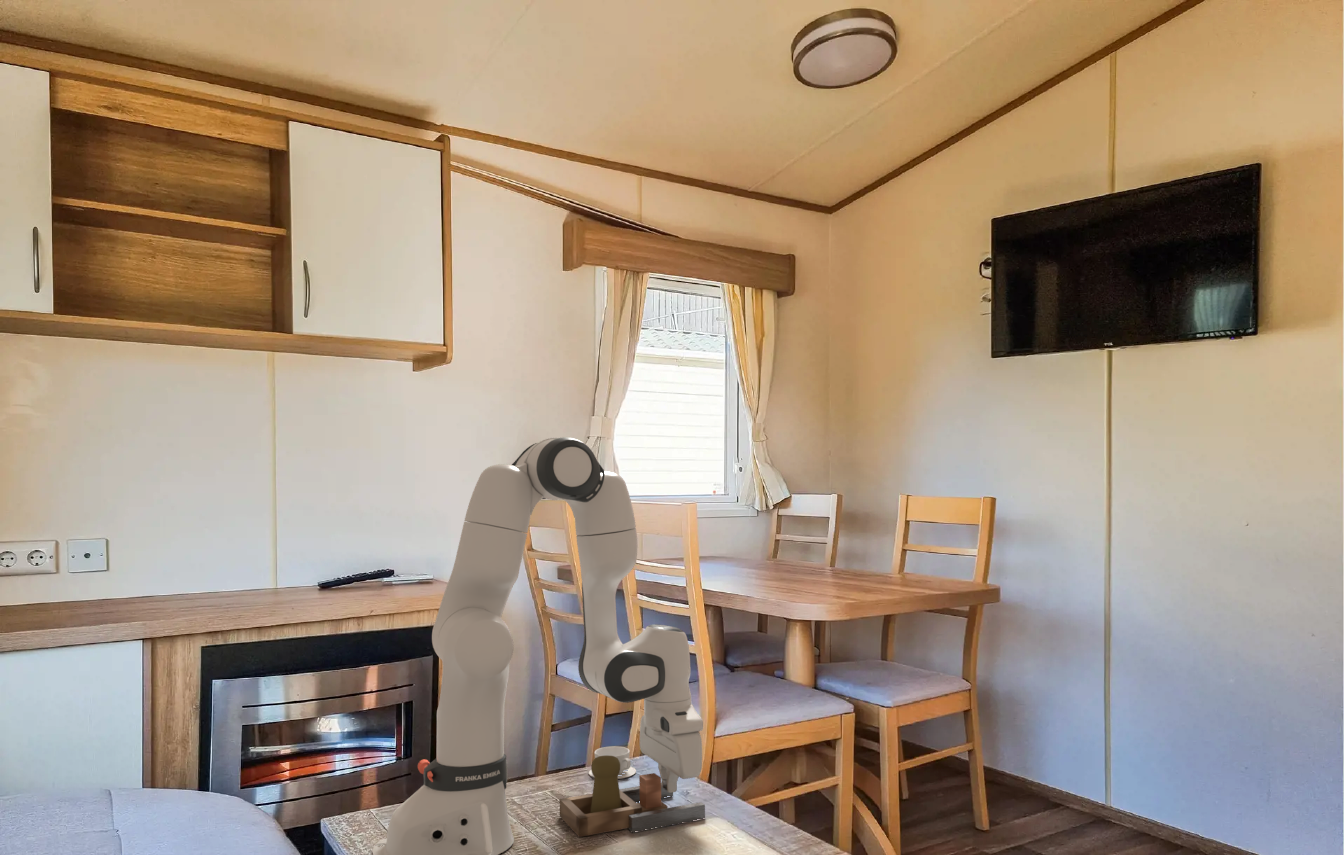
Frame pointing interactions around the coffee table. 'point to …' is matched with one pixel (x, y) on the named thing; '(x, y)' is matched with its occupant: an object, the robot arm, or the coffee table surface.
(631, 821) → the lane rails
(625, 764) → the teacup
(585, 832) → the frame
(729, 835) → the coffee table surface
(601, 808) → the cork
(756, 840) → the coffee table surface
